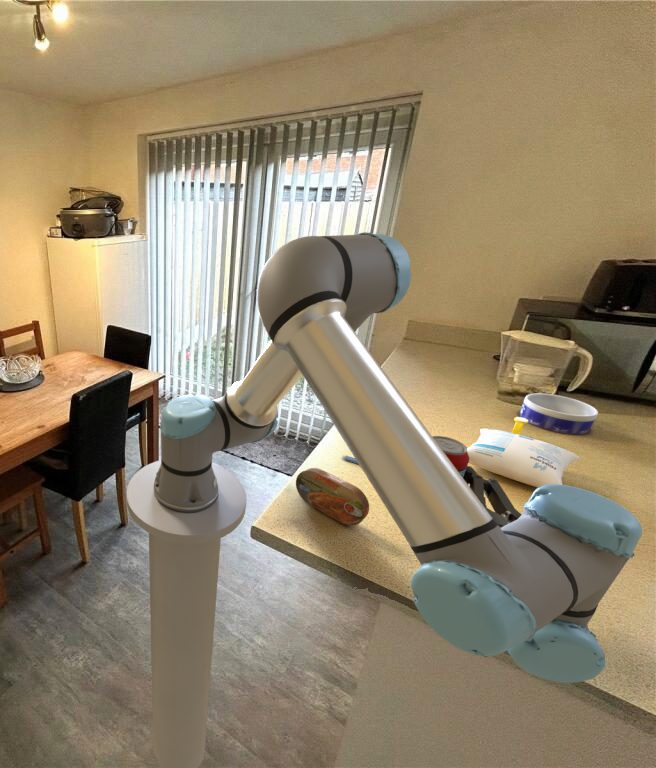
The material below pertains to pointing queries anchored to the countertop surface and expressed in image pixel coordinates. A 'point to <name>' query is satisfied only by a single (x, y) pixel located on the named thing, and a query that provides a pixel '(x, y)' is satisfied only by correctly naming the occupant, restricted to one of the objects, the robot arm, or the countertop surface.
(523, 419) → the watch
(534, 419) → the dog bowl
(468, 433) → the countertop surface
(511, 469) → the pouch
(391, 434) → the robot arm
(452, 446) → the beverage can
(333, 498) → the tin
